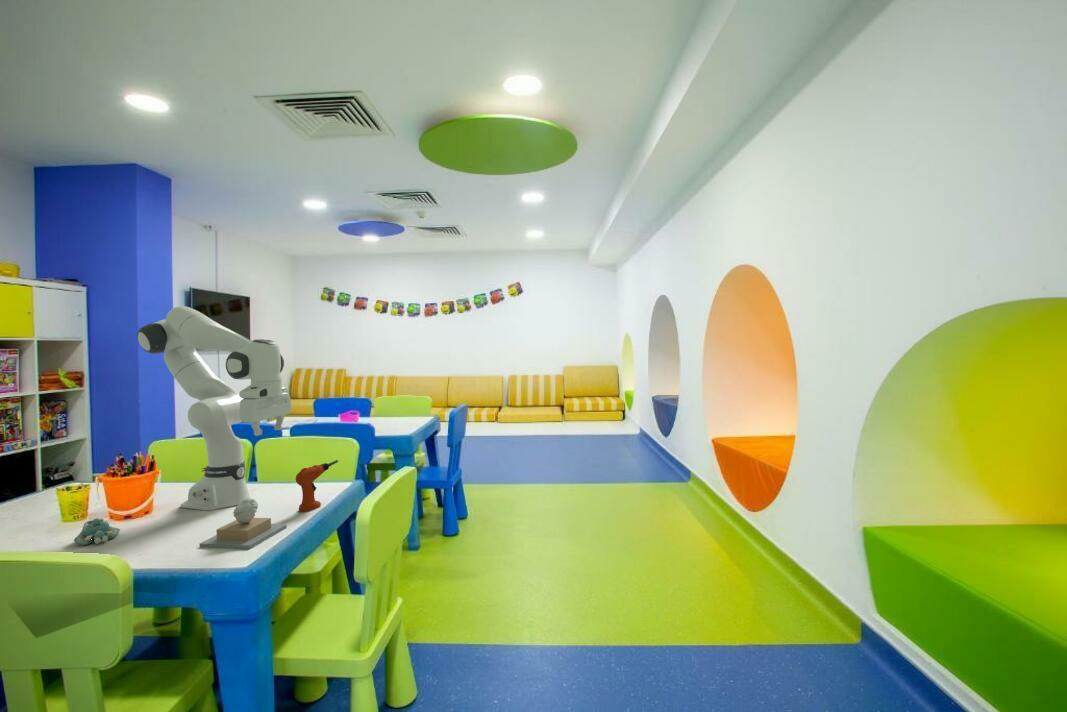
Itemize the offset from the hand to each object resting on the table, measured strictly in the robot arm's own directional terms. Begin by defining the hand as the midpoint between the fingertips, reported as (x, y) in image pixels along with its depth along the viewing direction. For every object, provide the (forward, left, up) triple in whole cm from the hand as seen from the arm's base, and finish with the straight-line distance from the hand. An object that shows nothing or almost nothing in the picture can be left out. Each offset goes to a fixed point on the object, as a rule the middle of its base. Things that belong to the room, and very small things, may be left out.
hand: (268, 432), depth 164 cm
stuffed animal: (-43, -20, -29) cm, 56 cm away
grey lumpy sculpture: (+1, -13, -25) cm, 28 cm away
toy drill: (+7, +16, -29) cm, 34 cm away
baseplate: (+1, -14, -29) cm, 32 cm away
